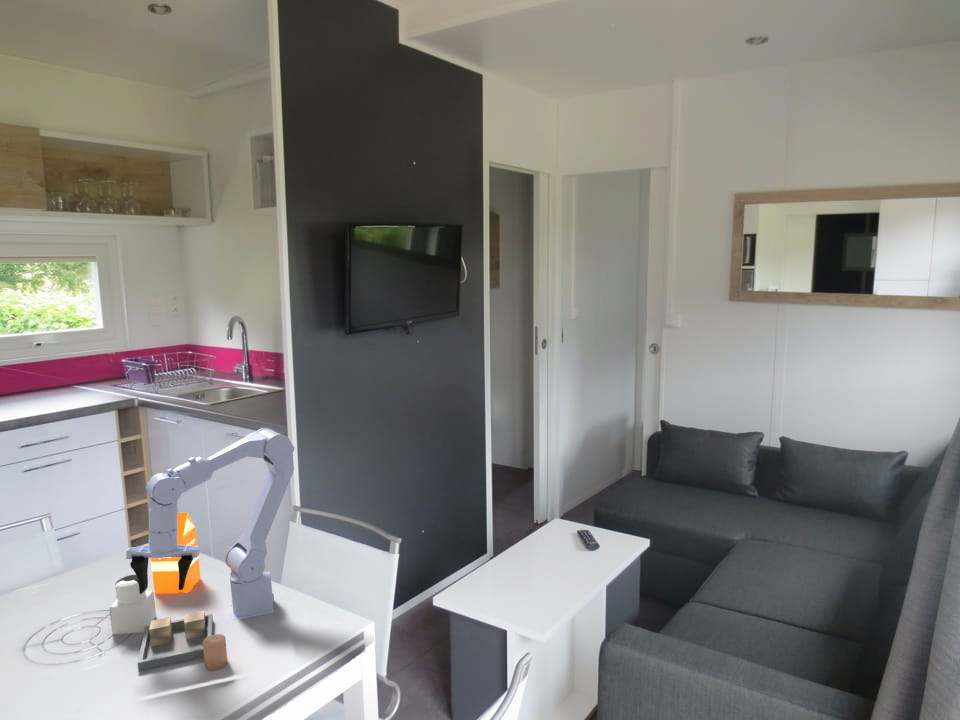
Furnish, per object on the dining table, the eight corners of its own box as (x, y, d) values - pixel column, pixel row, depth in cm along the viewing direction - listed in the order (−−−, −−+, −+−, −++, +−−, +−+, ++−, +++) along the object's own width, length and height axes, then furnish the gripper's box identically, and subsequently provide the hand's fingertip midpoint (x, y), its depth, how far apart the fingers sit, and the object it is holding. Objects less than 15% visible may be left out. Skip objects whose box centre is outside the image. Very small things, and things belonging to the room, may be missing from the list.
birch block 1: (172, 633, 153) (170, 616, 152) (171, 642, 149) (169, 625, 149) (153, 637, 152) (151, 620, 151) (151, 646, 148) (149, 629, 147)
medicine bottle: (125, 620, 161) (120, 572, 159) (157, 618, 161) (151, 570, 159) (112, 636, 154) (106, 587, 152) (145, 634, 154) (139, 585, 152)
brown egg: (227, 658, 144) (225, 632, 143) (227, 670, 140) (225, 643, 139) (205, 663, 142) (202, 636, 141) (204, 675, 138) (202, 648, 137)
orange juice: (188, 593, 173) (180, 518, 170) (153, 593, 173) (145, 519, 170) (201, 578, 180) (194, 506, 177) (168, 579, 181) (160, 507, 178)
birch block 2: (205, 626, 155) (204, 610, 155) (205, 635, 152) (203, 619, 151) (186, 630, 154) (185, 614, 153) (185, 639, 150) (184, 622, 150)
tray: (213, 623, 158) (212, 613, 158) (211, 658, 144) (210, 647, 144) (146, 636, 153) (145, 626, 153) (138, 674, 139) (137, 662, 139)
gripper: (121, 535, 143) (121, 597, 144) (194, 534, 146) (193, 595, 147) (132, 524, 150) (132, 583, 151) (201, 523, 153) (201, 582, 154)
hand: (163, 588), depth 150 cm, fingers open, 7 cm apart
